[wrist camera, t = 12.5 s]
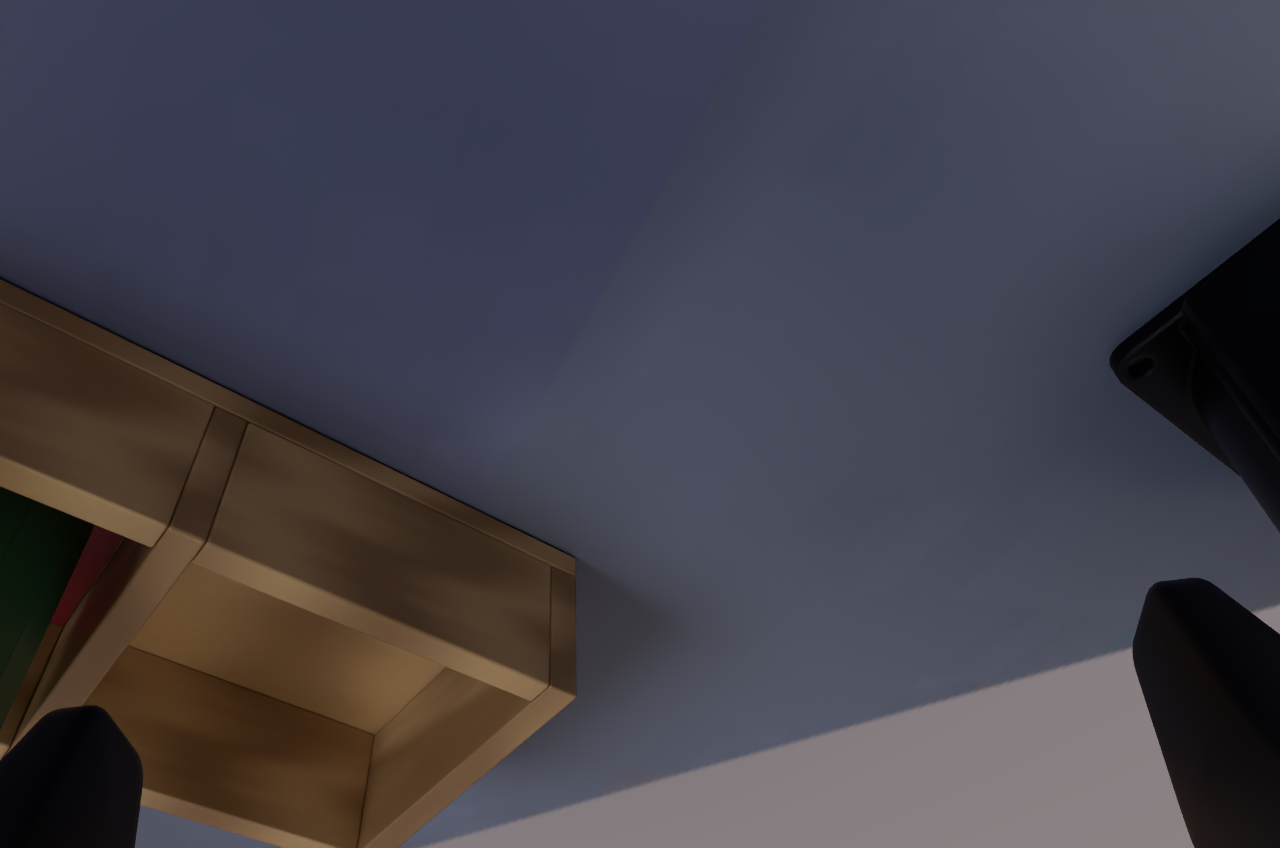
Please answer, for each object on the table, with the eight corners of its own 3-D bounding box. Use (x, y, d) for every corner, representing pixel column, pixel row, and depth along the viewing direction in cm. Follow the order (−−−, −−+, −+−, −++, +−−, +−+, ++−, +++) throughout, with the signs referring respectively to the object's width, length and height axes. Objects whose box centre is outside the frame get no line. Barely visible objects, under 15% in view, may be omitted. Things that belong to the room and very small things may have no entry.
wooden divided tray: (576, 557, 26) (577, 698, 23) (387, 735, 30) (367, 874, 27) (-232, 164, 19) (-390, 294, 15) (-330, 474, 23) (-468, 624, 20)
